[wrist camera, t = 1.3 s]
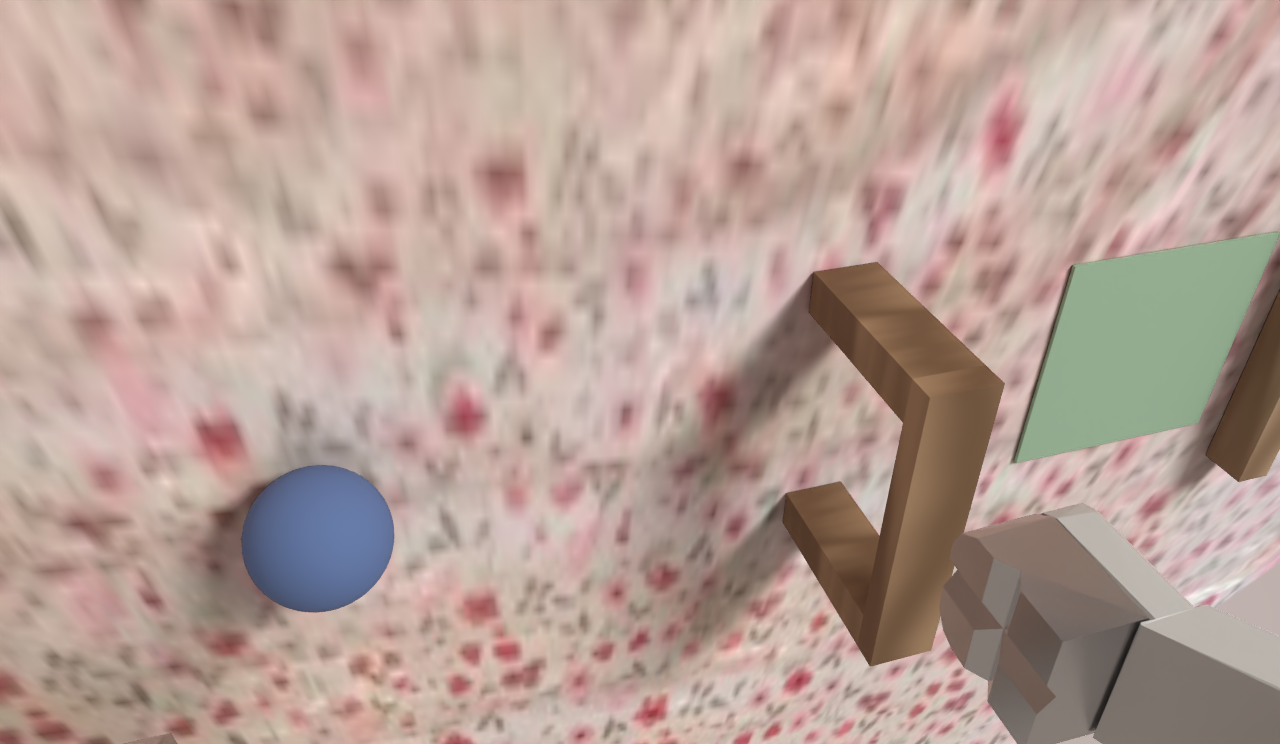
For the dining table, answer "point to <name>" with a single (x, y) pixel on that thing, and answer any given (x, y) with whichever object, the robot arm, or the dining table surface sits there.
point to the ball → (317, 538)
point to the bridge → (897, 464)
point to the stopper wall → (1253, 410)
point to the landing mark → (1141, 343)
